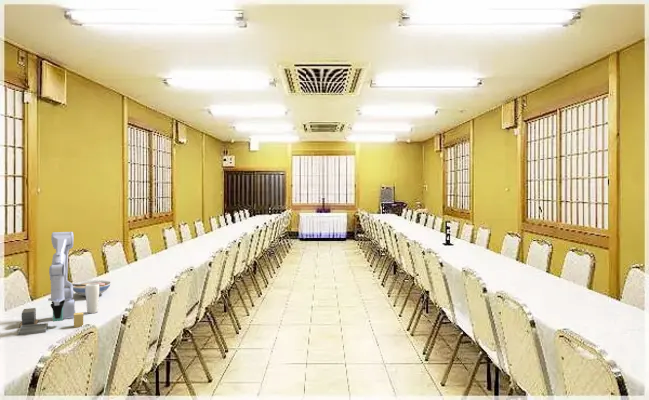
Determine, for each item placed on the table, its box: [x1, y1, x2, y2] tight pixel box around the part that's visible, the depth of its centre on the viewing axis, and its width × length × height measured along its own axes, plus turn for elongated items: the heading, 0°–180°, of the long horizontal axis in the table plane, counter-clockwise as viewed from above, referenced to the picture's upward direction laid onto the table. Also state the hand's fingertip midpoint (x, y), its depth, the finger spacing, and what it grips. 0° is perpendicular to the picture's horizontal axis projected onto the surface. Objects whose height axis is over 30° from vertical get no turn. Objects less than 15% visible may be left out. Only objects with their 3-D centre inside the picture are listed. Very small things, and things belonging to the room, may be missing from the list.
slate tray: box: [17, 322, 49, 336], centre depth 231 cm, size 11×11×2 cm
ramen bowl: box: [72, 279, 112, 298], centre depth 304 cm, size 25×23×8 cm
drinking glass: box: [85, 283, 100, 314], centre depth 264 cm, size 7×7×15 cm
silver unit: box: [18, 307, 39, 329], centre depth 241 cm, size 7×10×7 cm
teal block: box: [52, 307, 63, 322], centre depth 238 cm, size 4×4×6 cm
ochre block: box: [73, 312, 84, 328], centre depth 239 cm, size 4×4×6 cm
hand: (57, 317), depth 238 cm, fingers closed on teal block, 4 cm apart
